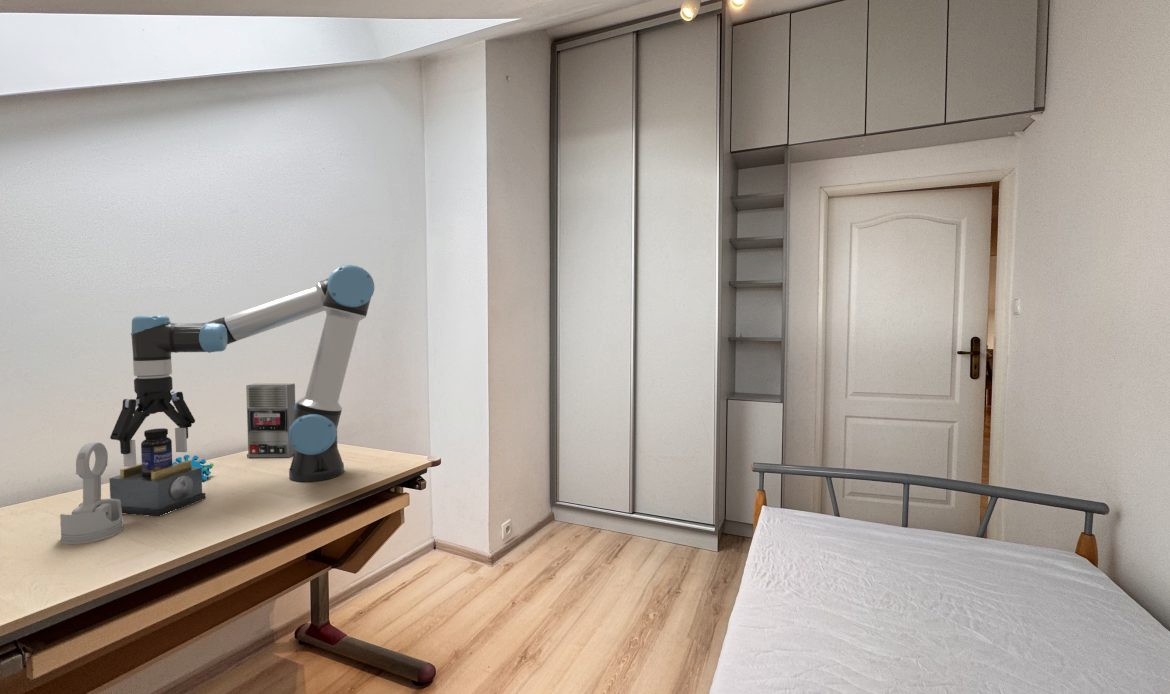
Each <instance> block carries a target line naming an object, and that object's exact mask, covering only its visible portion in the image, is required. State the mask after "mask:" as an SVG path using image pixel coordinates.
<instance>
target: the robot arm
mask: <svg viewBox="0 0 1170 694" xmlns="http://www.w3.org/2000/svg"><path fill="white" fill-rule="evenodd" d="M374 291H375V282H374V279H373V277H372V276H371V274H370V273H369V272H368V271H367V270H366V269H364V268H363V267H360V266H358V265H352V264H346V265H344V264H343V265H341V266H339V267H337V268H336V269H334V270H333V271H332V272H331V274H330V275H329V276H328V277H327V278H326V279H324V280H320V281H318V282H316V285H315V286H313V287H310V288H308V289H304V290H301V291H298V292H295V293H292V294H289V295H286V296H283V297H280V298H277V299H274V300H271V301H269V302H266V303H263V304H260V305H256V306H253V307H250V308H247V309H245V310H240V311H238V312H236V313H233V314H229V315H225V316H224V317H219V318H217V319H215V320H212V321H208V322H201V323H200V322H198V323H196V322H195V323H173V322H172V321H170V317H169V316H167V315H136V316H134V317H133V318H132V319H131V333H130V335H131V346H132V349H131V350H132V366H133V367H132V368H133V376H135V379H133V388H134V393H135V394H136V398H134V399H133V398H132V399H131V398H124V399H123V400H122V409H121V411H120V413H119V415H118V418H117V420H116V423H115V425H114V427H113V429H112V431H111V434H110V437H109V438H110V440H114V441H119V446H120V448H119V449H120V455H123V467H125V468H128V467H135V466H136V465H137V453H136V452H137V450H136V439H133V437H134V436H135V434H136V433H137V432H138V430H139V429H140V427H141V425H142V424H143V423H144V421H145V420H146V418H148V417H149V416H150V415H154V414H155V415H156V414H158V413H163V414H165V415H166V416H167V417H168V418H169V419H170V420H171V421H172V422H173V423H174V424H175V426H177V427H174V437H175V452H176V453H187V452H188V442H187V441H188V440H187V439H188V438H189V428H191V427H192V425H193V424H195V422H196V419H195V417H194V415H193V414H192V412H191V410H190V408H189V407H188V404H187V403H186V401H185V400H184V393H183V392H182V391H173V386H174V385H173V377H172V376H171V375H172V373H173V369H172V364H173V363H172V353H173V354H174V353H209V354H210V353H216V352H217V353H218V352H224V351H225V350H226V349H227V346H228V345H231V344H233V343H235V342H238V341H241V340H243V339H246V338H250V337H253V336H255V335H258V334H261V333H264V332H267V331H269V330H272V329H275V328H278V327H281V326H285V325H286V324H289V323H292V322H295V321H298V320H302V319H304V318H307V317H310V316H313V315H316V314H319V313H321V312H325V313H326V316H325V320H324V323H323V326H322V327H323V328H322V332H321V335H320V339H319V342H318V347H317V350H316V354H315V358H314V361H313V365H312V370H311V374H310V378H309V381H308V384H307V387H306V388H307V389H306V392H305V396H304V397H302V398H301V399H298V400H297V401H296V402H295V405H294V410H293V411H294V417H293V421H292V424H291V426H290V428H289V430H288V436H289V437H288V438H289V441H290V444H291V445H292V447H293V448H294V449H295V454H294V455H293V458H292V460H291V463H290V467H289V469H288V474H289V475H288V478H289V480H291V481H294V482H295V481H296V482H302V481H303V482H305V483H307V482H319V481H325V480H330V479H332V478H333V479H334V478H336V477H338V476H342V475H343V473H344V472H345V465H344V462H343V458H342V456H341V454H340V451H339V447H338V426H339V423H340V418H341V414H342V410H343V408H342V406H341V405H340V403H339V400H340V396H341V392H342V388H343V384H344V380H345V377H346V373H347V368H348V365H349V362H350V358H351V353H352V351H353V350H352V349H353V346H354V342H355V338H356V334H357V330H358V327H359V323H360V322H361V321H362V320H364V319H366V318H367V315H368V310H369V308H370V307H369V306H370V303H371V300H372V297H373V295H374ZM171 402H172V403H173V404H172V403H171Z"/></svg>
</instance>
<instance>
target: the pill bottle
mask: <svg viewBox="0 0 1170 694" xmlns="http://www.w3.org/2000/svg"><path fill="white" fill-rule="evenodd" d="M143 433H144V434H143V436H144V438H145V439H144V440H143V441H141V443H140V451H141V464H142V474H143V475H148V476H151V472H152V471H155V470H158V469H162V468H165V467H168V466H172V464H173V448H172V447H173V444H172V443H173V442H172V441H173V440H172V439H171V438H170V437H168V434H169V429H168V428H162V427H161V428H151V429H146V430H144V431H143Z"/></svg>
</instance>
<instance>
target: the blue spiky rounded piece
mask: <svg viewBox="0 0 1170 694" xmlns="http://www.w3.org/2000/svg"><path fill="white" fill-rule="evenodd" d="M190 457H191V456H190V454H184V456H183V458H182V457H181V456H178V457H177V458H176V459H175V461H174V462H172V465H175V464H178V463H182V462H183V461H182V460H184V462H185V461H191V467H199V468H201V472H202V482H205V481H207V479H208V477H209V476H210V475H211V473H212V471H210V470H211V469H212V468H213V467H214V466H215V465H214V463H211V462H210V464H206V463H207V460H206V459H205V458H202V459H201V460H199V457H200V456H198V455H197V454H196V455H195V454H194V455H193V456H192V458H191V460H189V458H190Z"/></svg>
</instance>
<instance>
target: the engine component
mask: <svg viewBox="0 0 1170 694" xmlns="http://www.w3.org/2000/svg"><path fill="white" fill-rule="evenodd" d="M93 452H94V456H95V458H94V459H95V461H94V466H93V468H92V469H91V467H90V459H91V455H92V454H93ZM75 459H76V460H75V474H76V475H77V476H79V478H80V479H82V502H81V503H79V504H78V506H76V508H74V509H72V511H71V514H66V513H61V514H60V515H59V516H60V517H59V518H60V522H59V523H60V525H59V526H60V538H61V539H60V541H61V543H62V544H64V545H81V543H83V544H87V543H88V542H90V543H94V542H98V541H97V540H99V541H102V540H105V539H104V538H106V539H108V538H107V537H109V538H111V537H114V536H116V535H117V533H118V534H120V533H121V532H122V531H123V530H124V529H123V514H122V509H121V501H120V500H119V499H110V498H102V475H103V474H104V472H105V470H106V469H107V467H108V460H109V458H108V451H107V447H106V446H105V444H104V443H102V442H88V443H85V444H84V445H82V447H81V448H80V449H79V450H78V453H77V456H76V458H75ZM122 529H123V530H122ZM121 530H122V531H121ZM120 531H121V532H120ZM119 532H120V533H119ZM115 534H116V535H115ZM113 535H114V536H113ZM110 536H111V537H110ZM101 539H102V540H101ZM93 541H94V542H93ZM88 544H89V543H88Z"/></svg>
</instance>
